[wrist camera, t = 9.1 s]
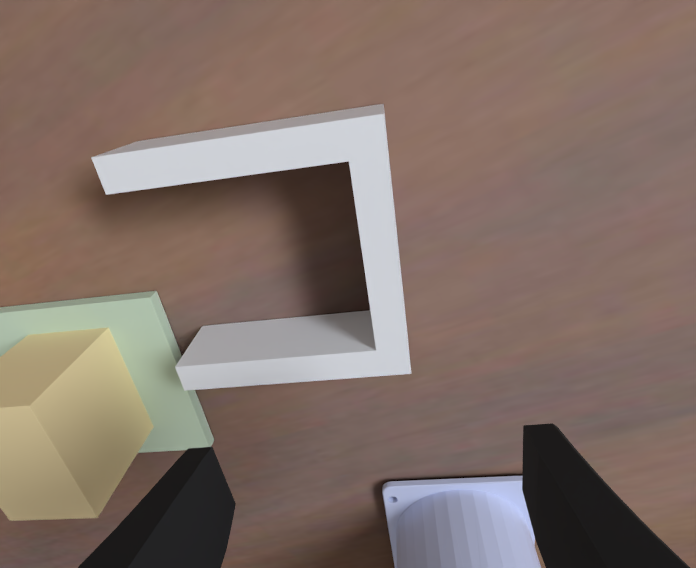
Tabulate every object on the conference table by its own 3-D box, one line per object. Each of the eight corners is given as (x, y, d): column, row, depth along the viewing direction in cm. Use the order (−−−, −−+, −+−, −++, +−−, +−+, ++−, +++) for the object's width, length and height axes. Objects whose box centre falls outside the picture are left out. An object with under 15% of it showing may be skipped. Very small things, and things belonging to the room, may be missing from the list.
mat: (214, 439, 23) (210, 448, 23) (60, 448, 25) (53, 457, 24) (156, 290, 19) (150, 297, 19) (-24, 309, 21) (-35, 316, 20)
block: (153, 426, 22) (97, 517, 18) (81, 431, 23) (10, 520, 19) (108, 327, 20) (30, 405, 15) (28, 334, 20) (-71, 412, 16)
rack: (407, 330, 20) (411, 373, 17) (209, 347, 21) (184, 390, 18) (383, 103, 15) (383, 113, 13) (137, 141, 17) (91, 157, 14)
